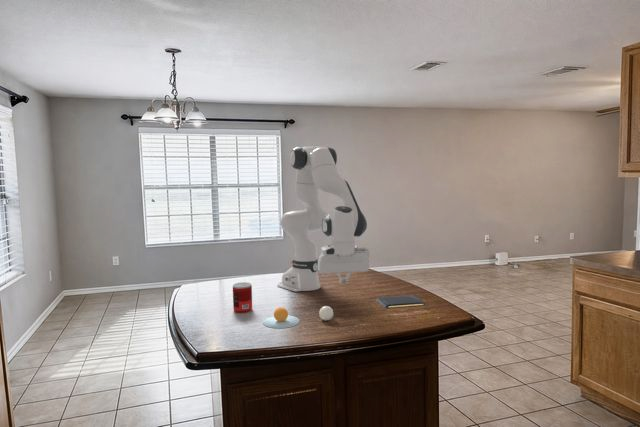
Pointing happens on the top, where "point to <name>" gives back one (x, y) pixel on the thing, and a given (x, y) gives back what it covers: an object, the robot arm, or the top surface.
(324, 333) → the top surface
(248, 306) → the canned food
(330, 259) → the robot arm
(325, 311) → the white ping pong ball
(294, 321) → the light blue disc
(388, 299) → the wallet
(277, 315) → the orange ball
